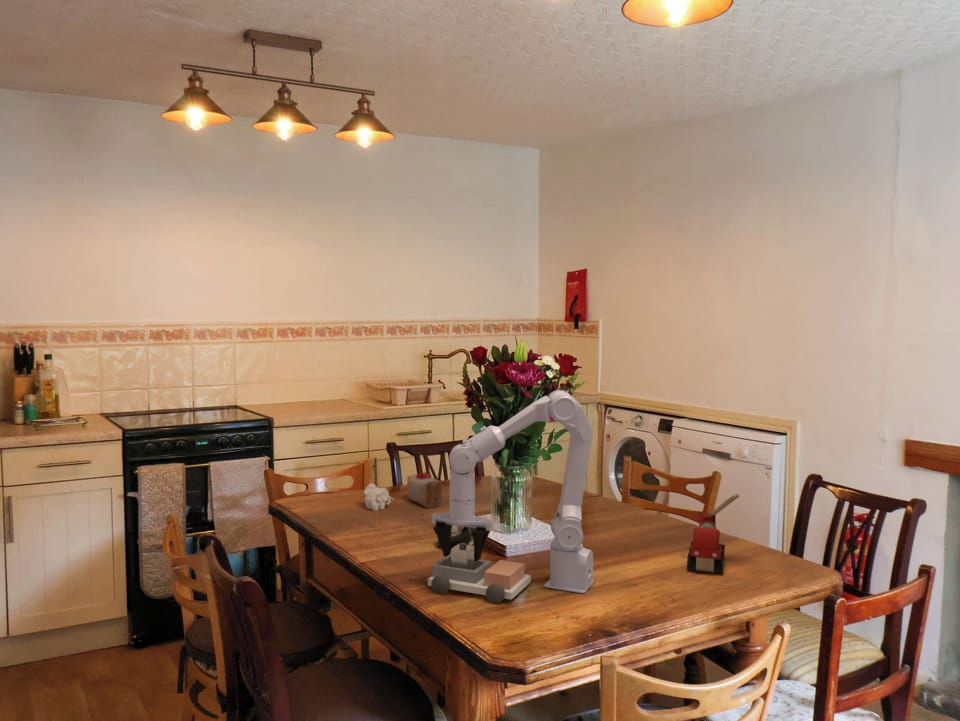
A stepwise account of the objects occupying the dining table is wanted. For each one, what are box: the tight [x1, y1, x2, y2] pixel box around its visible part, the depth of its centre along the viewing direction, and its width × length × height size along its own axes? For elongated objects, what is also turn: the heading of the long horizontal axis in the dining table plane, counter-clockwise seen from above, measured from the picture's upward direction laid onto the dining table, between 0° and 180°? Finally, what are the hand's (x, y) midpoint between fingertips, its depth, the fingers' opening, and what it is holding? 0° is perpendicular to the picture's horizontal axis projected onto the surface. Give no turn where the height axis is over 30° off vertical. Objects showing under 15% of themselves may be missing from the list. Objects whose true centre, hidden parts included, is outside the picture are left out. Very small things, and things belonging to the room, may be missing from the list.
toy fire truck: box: [686, 493, 740, 575], centre depth 199 cm, size 11×16×18 cm
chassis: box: [427, 554, 532, 605], centre depth 182 cm, size 20×14×6 cm
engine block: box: [450, 543, 474, 570], centre depth 184 cm, size 4×4×7 cm
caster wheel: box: [437, 513, 476, 549], centre depth 214 cm, size 7×12×10 cm
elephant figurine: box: [364, 483, 395, 512], centre depth 250 cm, size 8×10×7 cm
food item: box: [406, 471, 443, 509], centre depth 257 cm, size 14×8×10 cm, turn 33°
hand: (462, 557), depth 184 cm, fingers open, 7 cm apart
